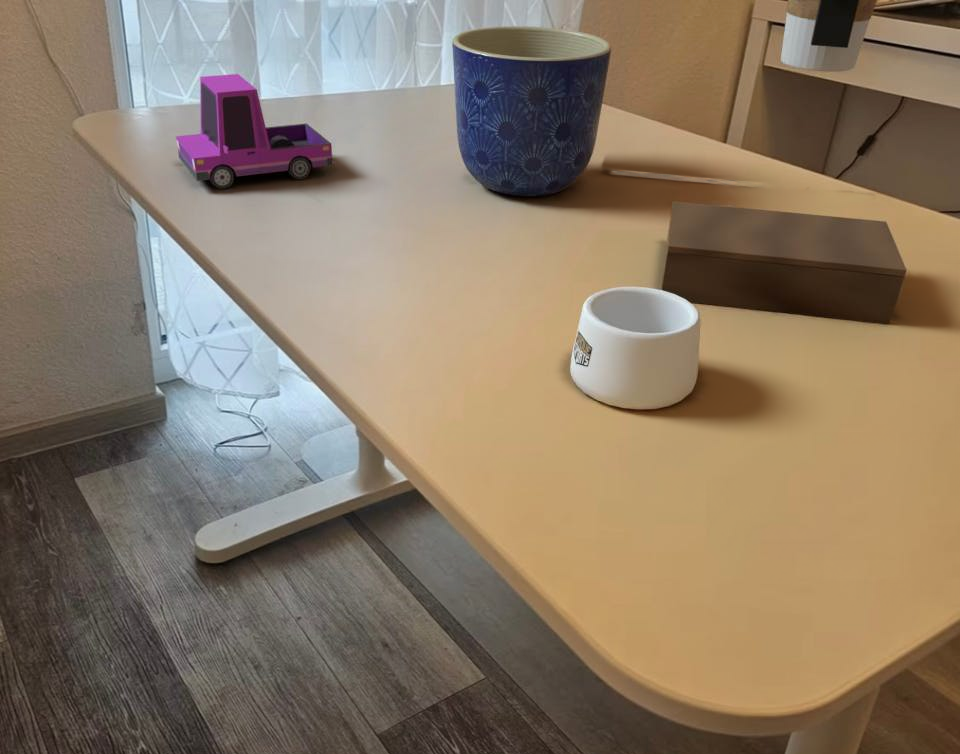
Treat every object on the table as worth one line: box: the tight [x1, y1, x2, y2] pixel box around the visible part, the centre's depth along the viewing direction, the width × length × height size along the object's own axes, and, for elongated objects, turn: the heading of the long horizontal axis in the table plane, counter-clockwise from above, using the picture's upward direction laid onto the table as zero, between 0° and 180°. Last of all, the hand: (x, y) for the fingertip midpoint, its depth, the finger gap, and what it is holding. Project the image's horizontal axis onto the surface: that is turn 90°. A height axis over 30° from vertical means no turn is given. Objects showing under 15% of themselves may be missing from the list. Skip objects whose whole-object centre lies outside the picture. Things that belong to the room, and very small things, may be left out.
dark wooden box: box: [660, 200, 907, 325], centre depth 88 cm, size 20×12×5 cm, turn 79°
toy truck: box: [175, 73, 334, 190], centre depth 108 cm, size 11×16×10 cm
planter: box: [451, 25, 612, 197], centre depth 106 cm, size 17×17×15 cm
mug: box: [569, 286, 702, 410], centre depth 72 cm, size 12×10×6 cm
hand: (824, 35), depth 77 cm, fingers closed on coffee cup, 8 cm apart
